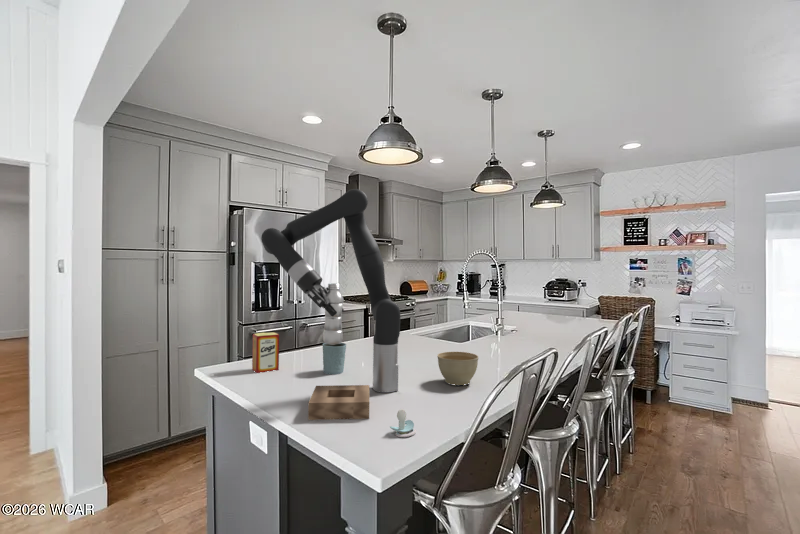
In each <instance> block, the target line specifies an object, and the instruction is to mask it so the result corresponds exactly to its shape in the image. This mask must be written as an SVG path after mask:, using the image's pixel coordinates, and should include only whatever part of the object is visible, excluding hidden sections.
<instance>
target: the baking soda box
mask: <svg viewBox="0 0 800 534" xmlns="http://www.w3.org/2000/svg"><path fill="white" fill-rule="evenodd" d="M251 358H252V362H251V365H252V366H251V367H252V369H251V370H252V371H253V372H254V371H255V372H256V373H255V372H254V373H255V374H260V372H262V373H268V372H267V371H269V372H274V371H273V370H276V371H279V370H280V369H279V368H280V365H279V364H280V363H279V362H280V334H279V333H277V332H258V333H252V357H251Z"/></svg>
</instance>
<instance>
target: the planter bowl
mask: <svg viewBox="0 0 800 534" xmlns="http://www.w3.org/2000/svg"><path fill="white" fill-rule="evenodd" d="M478 361H479V355H477V354H476V353H471V352H468V351H467V352H465V351H444V352H443V351H442V352H440V353H438V354H437V363H438V368H439V371H440V374H441V375H442V377H443V378H444V380H445V383H446V382H447V383H450V384H455V385H454V386H456V385H463V386H465V385H464V384H468V383H469V384H470V383H471V380H472V378H473V377H474V376H475V373H476V371H477V368H478ZM447 383H446V384H447ZM450 384H449V385H450ZM469 384H468V385H469Z"/></svg>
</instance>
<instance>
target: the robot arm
mask: <svg viewBox="0 0 800 534" xmlns="http://www.w3.org/2000/svg"><path fill="white" fill-rule="evenodd" d="M368 201H369V199H368V196H367V194H366V193H365V192H364V191H363V190H361V189H359V188H353V189H349V190H347V191H346V192H345V193H343V195H341V196H339V198H337V199H335V200H334V201H332V202H331V203H330V202H329V204H327V205H325V206H323V207H321V208H318V209H315V210H314V211H311V212H309V213H306V214H304V215H302V216H300V217H297V218H296V219H293V220H292V221H290V222H288V223H287V224H286V227H285V228H283V230H281V231H280V230H278V229H277V228H273V227H270V228H266V229H265V230H263V232H262V233H261V238H260V239H261V244H262V245H263V248H264V250H265V251H266V253H268V254H270V255H273V256H274V258H276V260H277V262H278V263H279V265H280V266H281V268H282V269H283V270H284V271H285V272H286V273H287V274H288V275H289V277H290V279H291V280H292V281H293V282H294V283H295V284H296V286H297V287H298V288H299V289H300V290H301V292H303V293H304V295H305V294H306V295H307V297H308V298H309V299H310V300H312V301H313V303H315V304H316V305H317V307H318V308H320V309H321V308H322V309H324V311H325V310H326V311H327V312H328V313H329V314H330V315H331V316H334V315H335V314H336V313H337V311H336V310H335V309H334V308H333V306H332V305H331V304H329V302H328V301H327V296H326V294H327V293H328V291H329V289H328V286H327V287H325V286H323V285H322V282H323V277H322V276H320V274H319V273H318V272H317V271H316V270H315V269H314V267H313V266H312V265H310V263H308V262H307V261H306V260H305V259H304V258H303V257H302V255H300V253H298V252H297V250H295V248H294V247H293V246H294V245H295V244H296V243H297V242H299V241H301V240H303V239H305V238H308V237H309V236H311V235H314V234H315V233H317V232H319V231H320V230H321V231H322V229H323V228H326V227H327V226H329V225H331V224H333V223H334V222H337V221H339V220H341V219H344V221H345V222H344V223H345V224H346V227H347V229H348V232H349V236H350V240H351V244H352V247H353V251H354V255H355V258H356V261H357V266H358V269H359V271H360V274H361V277H362V279H363V282H364V286H365V288H366V290H367V293H368V298H369V303H370V308H371V313H372V317H373V318H374V320H375V331H374V335H373V337H372V339H373V344H372V345H373V347H372V349H373V352H372V353H373V354H372V359H373V361H372V389H373V391H375V392H376V393H377V392H378V393H392V392H399V337H400V335H401V310H400V306H399V305H398V304H397V303H396V302H395V301H392V299H391V297H390V294H389V291H388V289H387V284H386V278H385V277H386V276H385V264H384V260H383V257H382V253H381V250H380V248H379V245H378V243H377V240H376V239H375V238H374V236H373V234H372V232H371V230H370V229H369V227H368V223H367V221H366V216H365V210H366V209H367V207H368V204H369V202H368ZM344 311H345V309H344V308H342V313H343V312H344Z"/></svg>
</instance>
